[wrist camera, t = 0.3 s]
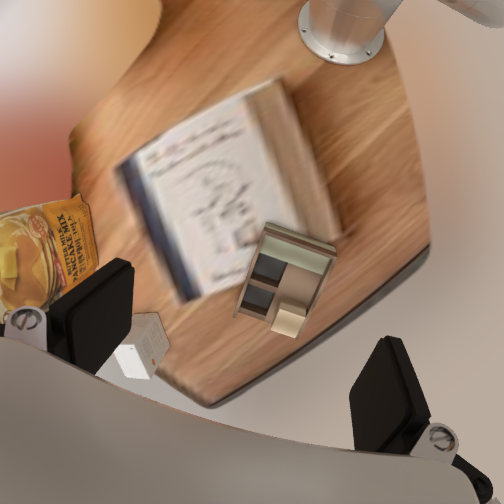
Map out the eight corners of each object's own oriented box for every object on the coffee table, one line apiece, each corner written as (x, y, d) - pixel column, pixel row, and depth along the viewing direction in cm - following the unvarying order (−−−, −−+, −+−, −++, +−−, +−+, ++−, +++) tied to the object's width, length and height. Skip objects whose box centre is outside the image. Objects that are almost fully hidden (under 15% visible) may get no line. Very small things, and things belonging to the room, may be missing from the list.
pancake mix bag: (80, 280, 56) (-13, 356, 31) (63, 188, 50) (-56, 233, 24) (105, 282, 55) (9, 367, 30) (88, 185, 49) (-39, 232, 23)
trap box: (266, 221, 46) (263, 230, 42) (334, 246, 46) (337, 257, 42) (237, 303, 52) (232, 317, 48) (298, 324, 52) (298, 339, 48)
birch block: (281, 295, 48) (279, 308, 44) (305, 303, 47) (305, 317, 44) (272, 315, 49) (270, 329, 45) (296, 323, 49) (295, 338, 45)
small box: (134, 312, 57) (107, 343, 47) (158, 311, 56) (133, 344, 46) (147, 345, 59) (125, 378, 50) (171, 346, 58) (150, 380, 48)
